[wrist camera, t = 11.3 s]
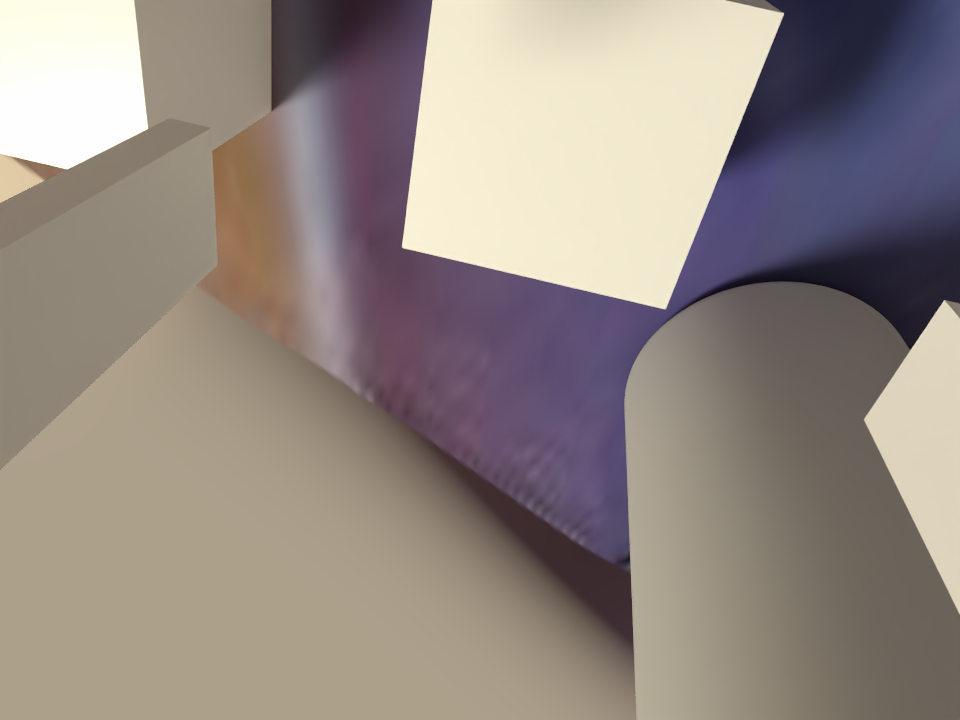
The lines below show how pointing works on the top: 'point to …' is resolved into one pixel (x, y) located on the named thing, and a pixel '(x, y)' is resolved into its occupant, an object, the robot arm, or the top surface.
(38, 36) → the cover
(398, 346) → the top surface
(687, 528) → the cylinder vase
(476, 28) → the cover
